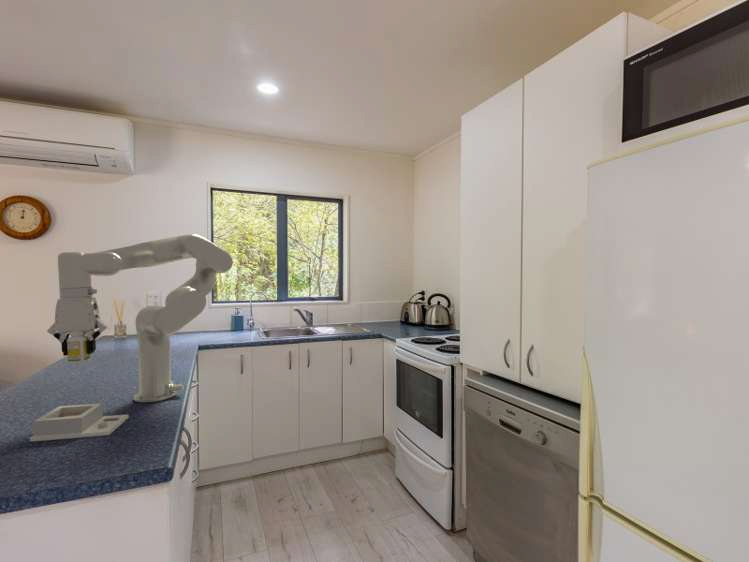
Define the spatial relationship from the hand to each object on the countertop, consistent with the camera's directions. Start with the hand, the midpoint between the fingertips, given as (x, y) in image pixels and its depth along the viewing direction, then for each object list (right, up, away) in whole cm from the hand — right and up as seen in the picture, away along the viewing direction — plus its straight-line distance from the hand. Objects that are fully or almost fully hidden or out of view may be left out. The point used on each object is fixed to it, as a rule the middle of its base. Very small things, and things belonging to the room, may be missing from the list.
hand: (79, 353), depth 113 cm
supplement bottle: (0, -3, 0) cm, 3 cm away
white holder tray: (+8, -19, -9) cm, 23 cm away
